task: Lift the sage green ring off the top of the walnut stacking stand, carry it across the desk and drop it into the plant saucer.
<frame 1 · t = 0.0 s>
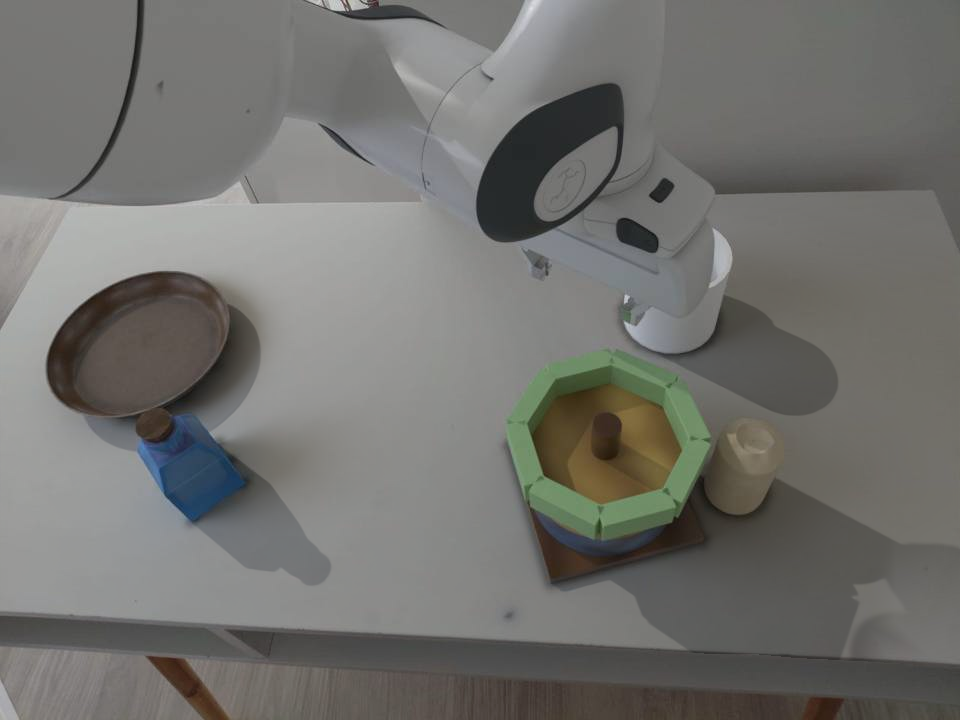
hand: (585, 295, 66), 16 cm above the table, tool pointing down, fingers open, 8 cm apart
candle: (733, 489, 71), on the table
mug: (666, 310, 84), on the table
plant saucer: (151, 355, 88), on the table
ring: (605, 439, 64), point 10 cm above the table, touching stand
perfume bottle: (206, 483, 77), on the table
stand: (601, 492, 72), on the table
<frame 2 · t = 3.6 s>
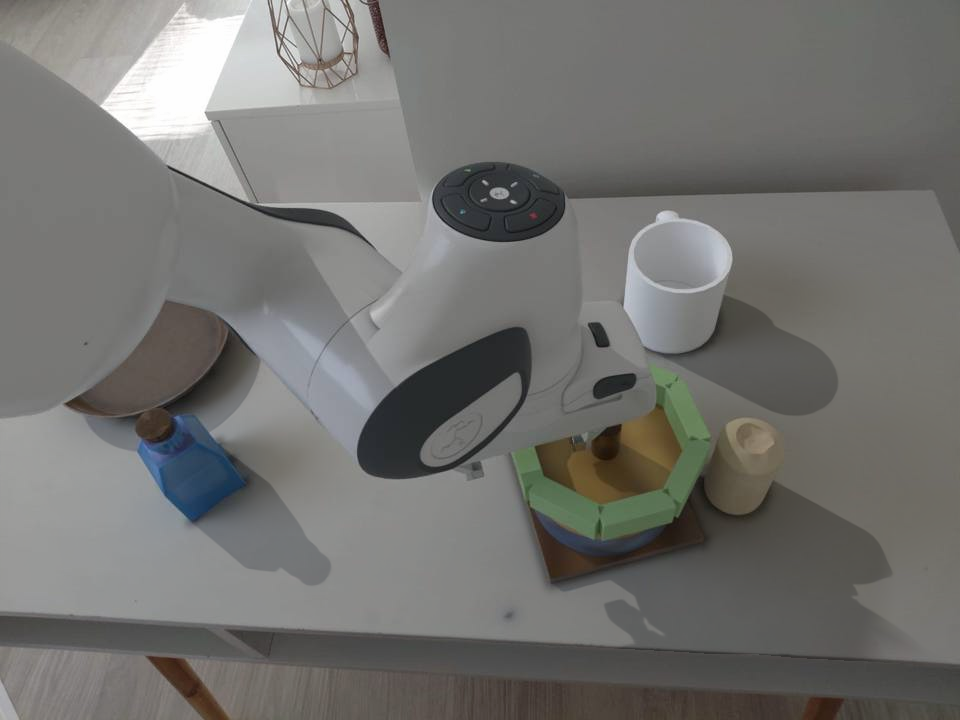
hand: (527, 457, 63), 11 cm above the table, tool pointing down, fingers open, 8 cm apart
nothing on the table moved.
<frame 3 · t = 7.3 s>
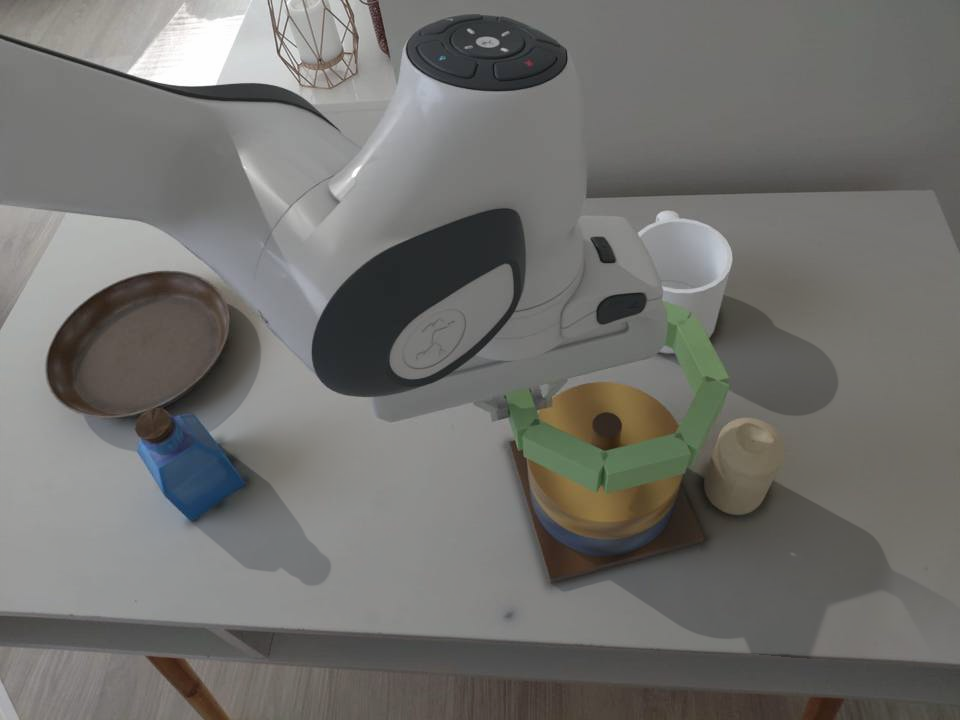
hand: (519, 406, 56), 19 cm above the table, tool pointing down, fingers closed on ring
ring: (609, 382, 56), point 19 cm above the table, touching gripper
everything else where it was.
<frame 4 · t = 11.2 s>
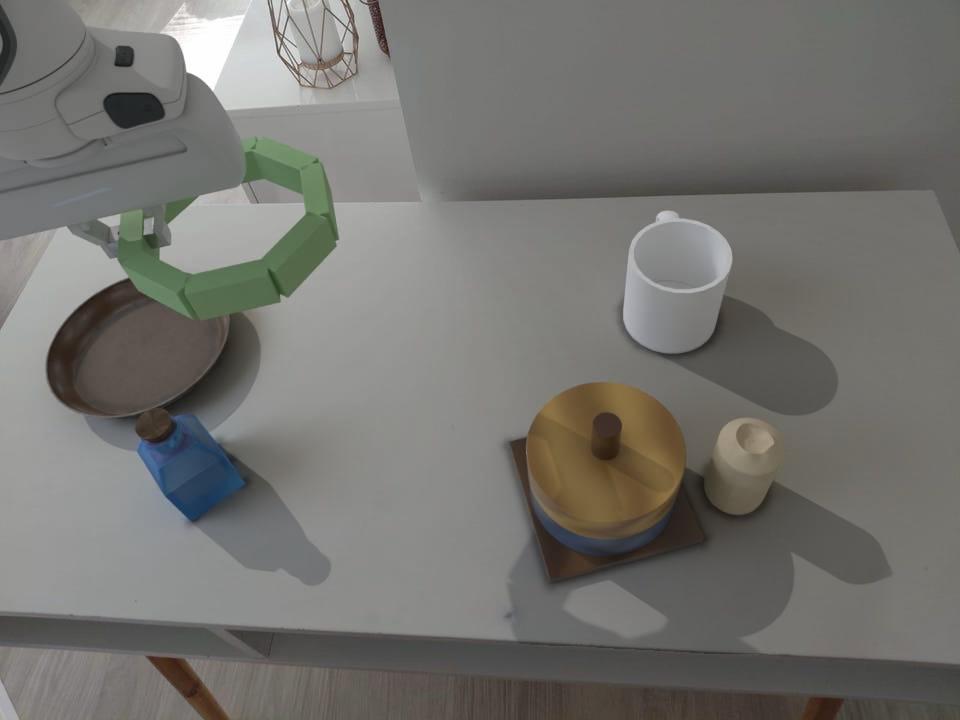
hand: (142, 246, 58), 27 cm above the table, tool pointing down, fingers closed on ring
ring: (230, 222, 58), point 28 cm above the table, touching gripper
everything else where it was.
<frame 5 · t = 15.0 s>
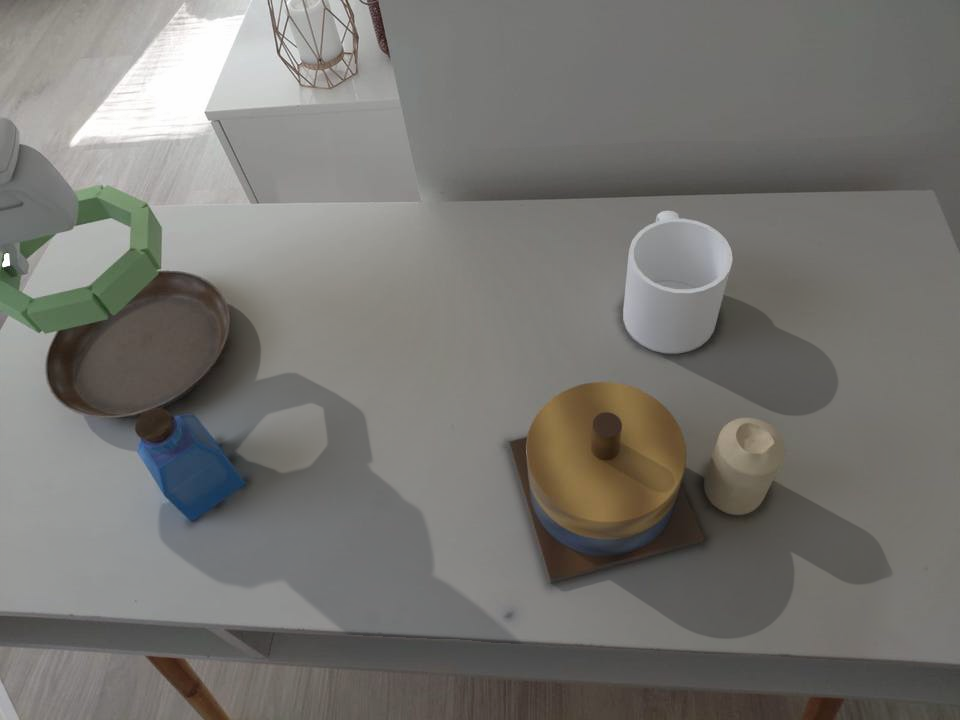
hand: (5, 275, 74), 16 cm above the table, tool pointing down, fingers closed on ring
ring: (74, 255, 74), point 17 cm above the table, touching gripper
everything else where it was.
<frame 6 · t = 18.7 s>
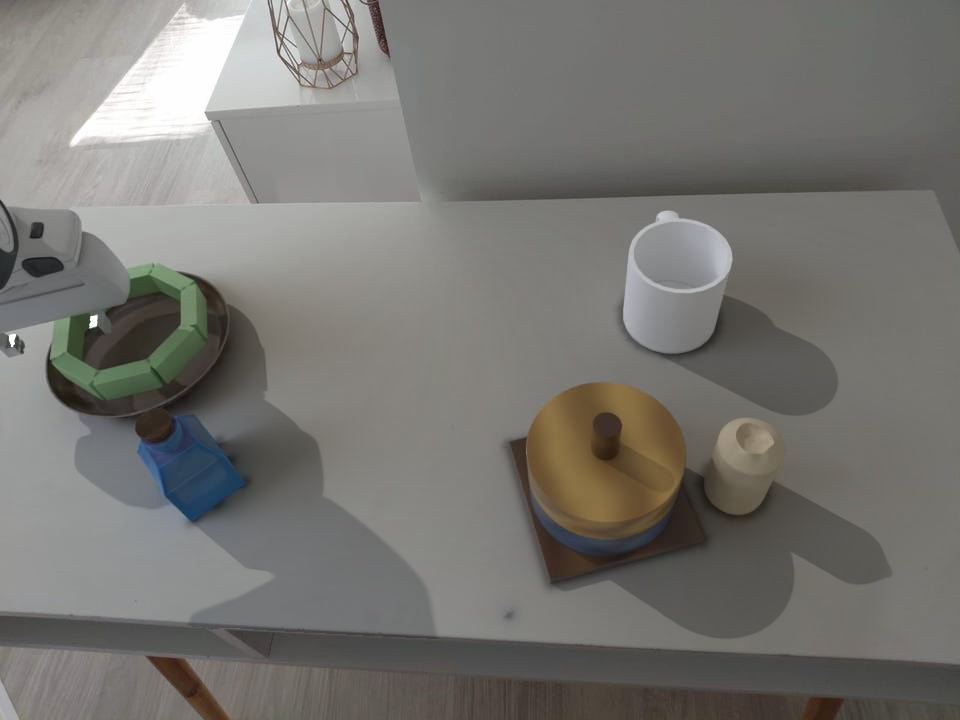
hand: (61, 340, 82), 6 cm above the table, tool pointing down, fingers open, 8 cm apart
plant saucer: (151, 355, 87), on the table, touching ring
ring: (131, 328, 83), point 5 cm above the table, touching plant saucer
everything else where it was.
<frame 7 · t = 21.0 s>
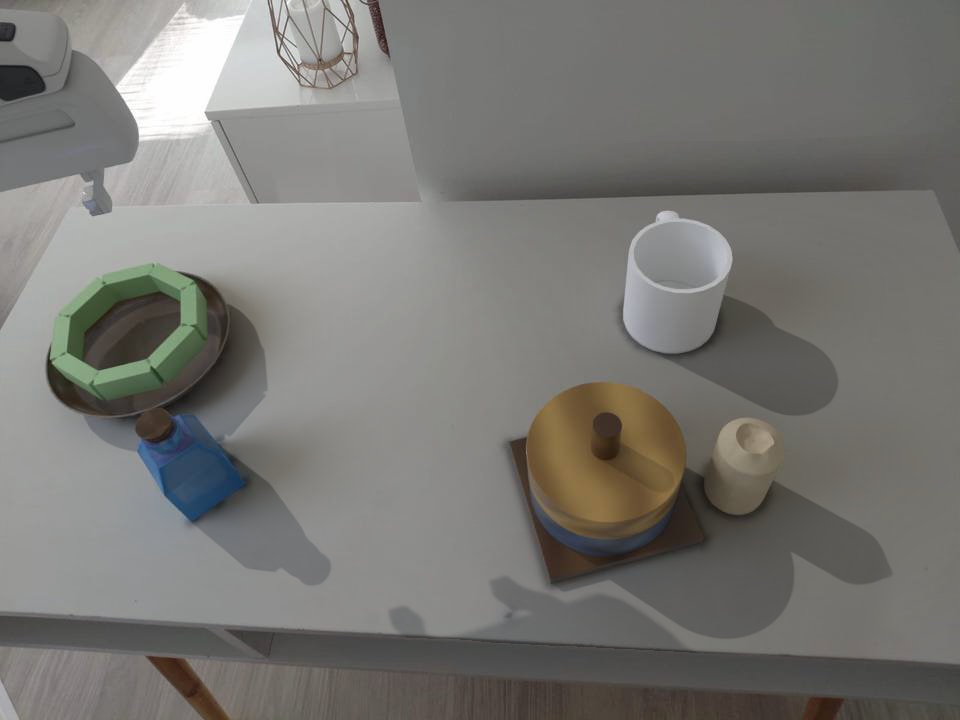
hand: (43, 223, 60), 28 cm above the table, tool pointing down, fingers open, 8 cm apart
nothing on the table moved.
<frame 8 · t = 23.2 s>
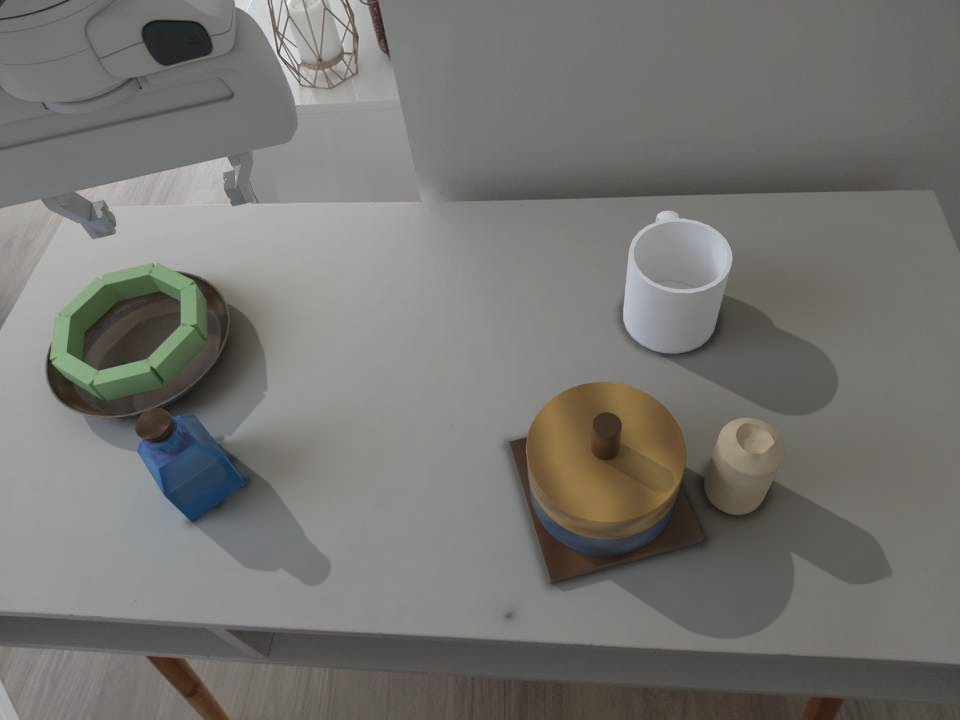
hand: (175, 214, 51), 33 cm above the table, tool pointing down, fingers open, 8 cm apart
nothing on the table moved.
at the end: ring inside the target area in the plant saucer (0.1 cm from its centre), point 5.0 cm above the plant saucer's base; ring 0.1 cm from the plant saucer (horizontally); the gripper is holding nothing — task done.
